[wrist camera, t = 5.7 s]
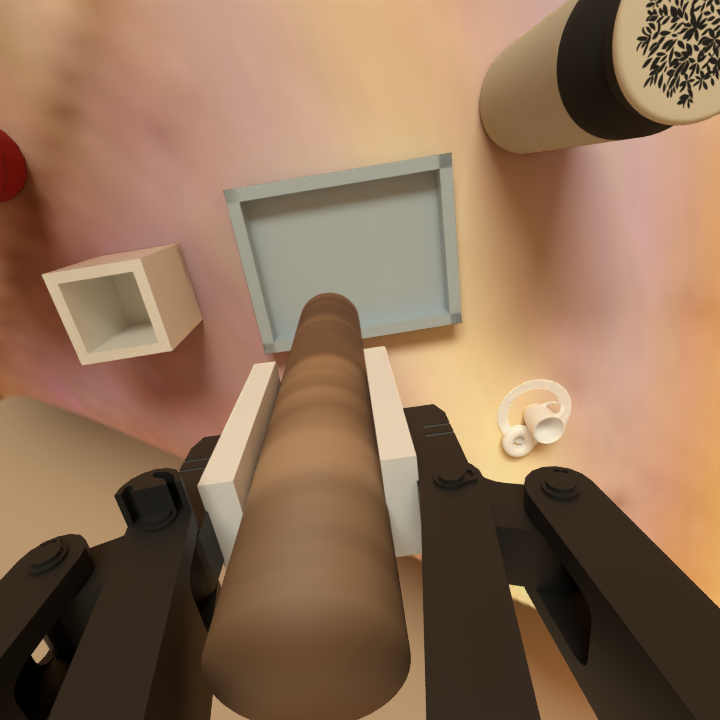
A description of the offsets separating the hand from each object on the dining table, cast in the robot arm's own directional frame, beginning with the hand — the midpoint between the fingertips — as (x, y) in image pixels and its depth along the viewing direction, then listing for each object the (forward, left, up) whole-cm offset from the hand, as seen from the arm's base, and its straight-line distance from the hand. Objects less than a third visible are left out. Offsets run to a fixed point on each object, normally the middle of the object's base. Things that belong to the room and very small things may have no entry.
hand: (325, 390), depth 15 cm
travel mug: (-10, +18, -25) cm, 33 cm away
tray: (0, +2, -25) cm, 25 cm away
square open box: (0, -16, -25) cm, 30 cm away
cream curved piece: (+18, +15, -26) cm, 35 cm away
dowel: (0, 0, -9) cm, 9 cm away
